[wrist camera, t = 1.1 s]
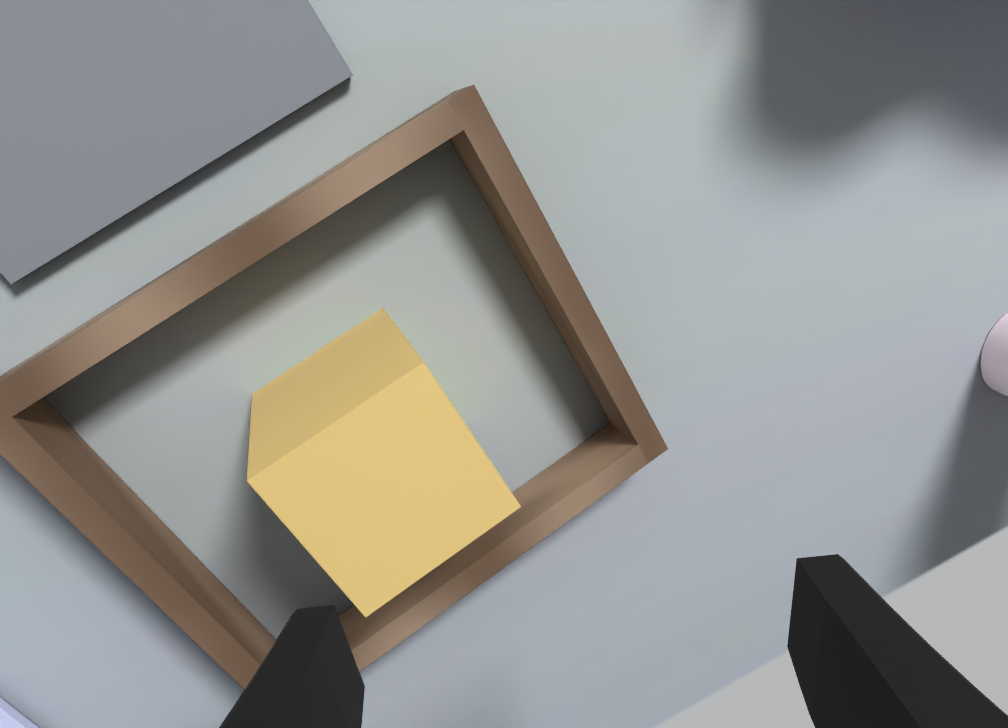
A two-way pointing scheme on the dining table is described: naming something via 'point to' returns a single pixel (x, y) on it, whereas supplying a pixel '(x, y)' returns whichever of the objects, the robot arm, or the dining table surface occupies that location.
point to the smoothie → (996, 357)
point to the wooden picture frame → (19, 392)
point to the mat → (136, 104)
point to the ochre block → (371, 464)
